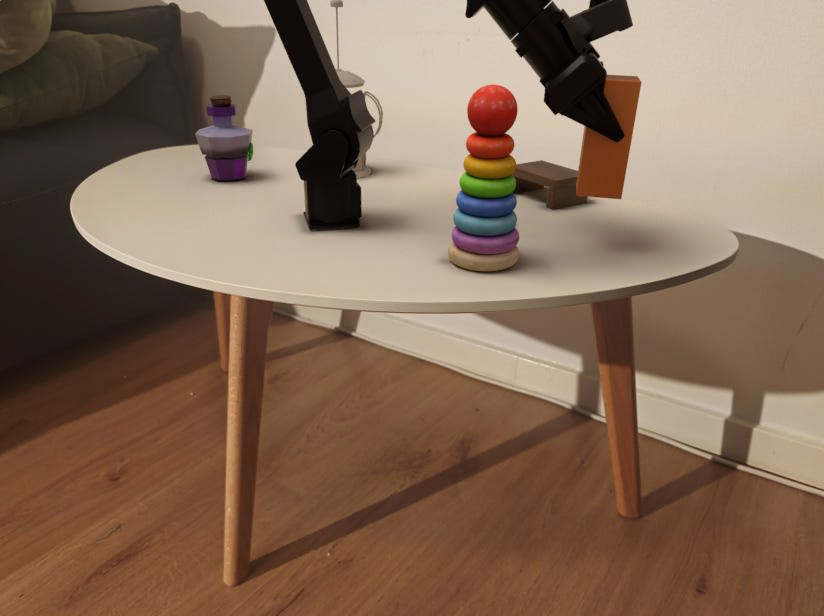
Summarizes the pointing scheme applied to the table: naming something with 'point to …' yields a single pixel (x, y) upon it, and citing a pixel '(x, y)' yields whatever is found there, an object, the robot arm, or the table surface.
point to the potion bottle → (225, 142)
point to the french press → (355, 81)
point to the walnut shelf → (549, 182)
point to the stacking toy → (487, 186)
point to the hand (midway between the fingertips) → (619, 134)
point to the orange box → (609, 143)
